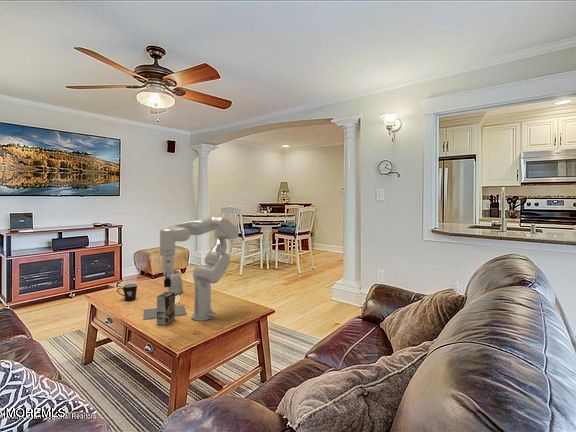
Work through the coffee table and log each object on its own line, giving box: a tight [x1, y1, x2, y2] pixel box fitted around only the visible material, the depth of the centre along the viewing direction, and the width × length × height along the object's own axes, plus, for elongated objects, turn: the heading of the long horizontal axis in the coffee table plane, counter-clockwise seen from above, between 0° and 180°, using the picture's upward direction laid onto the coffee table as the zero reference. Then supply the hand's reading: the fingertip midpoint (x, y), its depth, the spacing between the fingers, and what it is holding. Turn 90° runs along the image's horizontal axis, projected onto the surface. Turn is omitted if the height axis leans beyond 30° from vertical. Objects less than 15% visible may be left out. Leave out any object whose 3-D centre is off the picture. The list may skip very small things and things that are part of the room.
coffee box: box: [156, 291, 176, 326], centre depth 179 cm, size 9×6×16 cm
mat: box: [143, 304, 188, 321], centre depth 193 cm, size 16×24×1 cm, turn 114°
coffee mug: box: [116, 283, 138, 302], centre depth 213 cm, size 12×9×10 cm
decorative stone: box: [167, 273, 184, 295], centre depth 227 cm, size 11×6×15 cm, turn 154°
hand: (167, 286), depth 164 cm, fingers closed
